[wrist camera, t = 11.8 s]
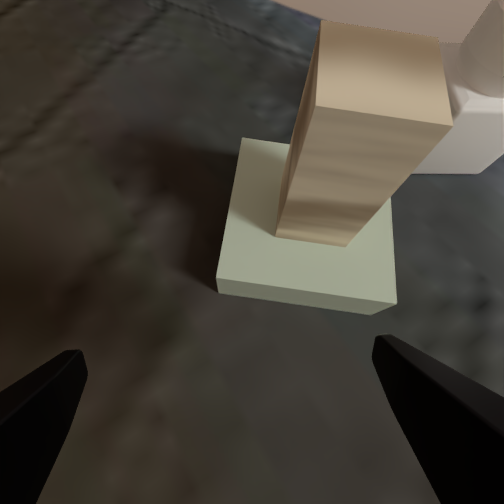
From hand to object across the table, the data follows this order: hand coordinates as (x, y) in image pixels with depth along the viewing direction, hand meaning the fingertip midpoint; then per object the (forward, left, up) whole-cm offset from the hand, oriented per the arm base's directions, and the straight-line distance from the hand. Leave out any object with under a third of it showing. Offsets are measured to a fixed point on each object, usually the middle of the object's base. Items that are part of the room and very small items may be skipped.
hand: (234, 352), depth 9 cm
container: (+17, -23, -13) cm, 32 cm away
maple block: (+9, -7, -9) cm, 15 cm away
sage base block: (+9, -7, -13) cm, 17 cm away
